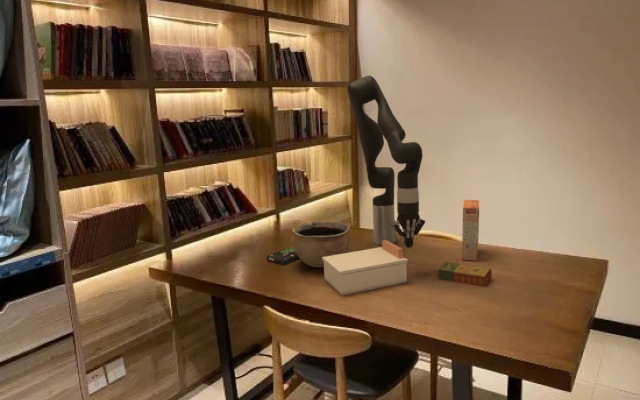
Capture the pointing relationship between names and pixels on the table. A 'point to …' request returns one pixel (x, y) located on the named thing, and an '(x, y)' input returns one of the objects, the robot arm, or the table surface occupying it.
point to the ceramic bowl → (320, 241)
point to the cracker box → (470, 230)
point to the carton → (465, 273)
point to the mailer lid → (366, 258)
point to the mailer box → (365, 278)
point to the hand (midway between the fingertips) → (408, 247)
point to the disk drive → (283, 256)
